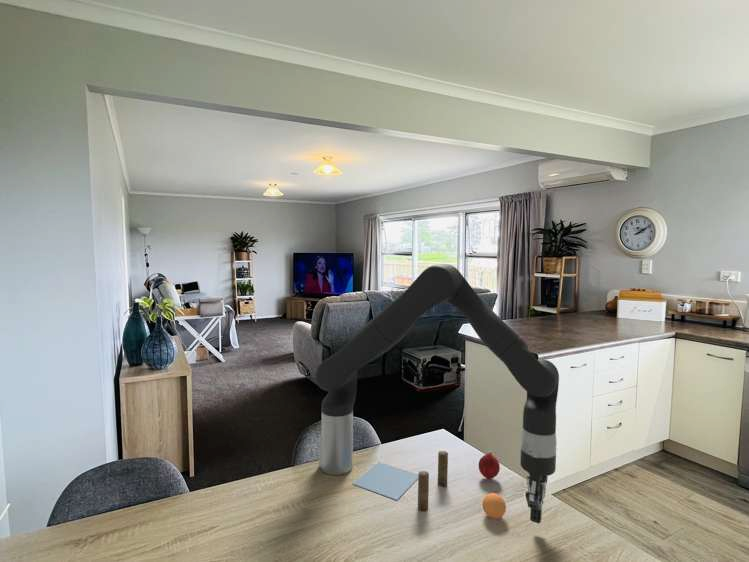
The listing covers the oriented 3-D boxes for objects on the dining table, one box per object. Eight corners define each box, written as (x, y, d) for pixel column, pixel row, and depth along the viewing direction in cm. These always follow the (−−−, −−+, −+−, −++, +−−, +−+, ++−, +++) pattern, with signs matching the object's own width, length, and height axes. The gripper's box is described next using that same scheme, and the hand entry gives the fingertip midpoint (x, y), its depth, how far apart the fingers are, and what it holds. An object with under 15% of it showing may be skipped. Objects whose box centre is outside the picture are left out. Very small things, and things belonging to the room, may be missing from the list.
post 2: (436, 485, 116) (436, 453, 115) (439, 480, 118) (440, 450, 117) (445, 488, 114) (445, 456, 114) (448, 483, 117) (449, 452, 116)
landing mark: (352, 484, 116) (352, 483, 116) (378, 462, 128) (378, 461, 128) (397, 500, 109) (397, 499, 109) (420, 475, 120) (420, 475, 120)
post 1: (416, 509, 105) (416, 474, 104) (420, 503, 107) (421, 469, 107) (425, 512, 104) (426, 477, 103) (429, 507, 106) (430, 472, 105)
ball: (479, 518, 102) (479, 497, 101) (486, 507, 106) (486, 486, 106) (502, 526, 99) (502, 504, 98) (508, 514, 103) (508, 493, 103)
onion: (500, 486, 116) (501, 458, 115) (478, 483, 117) (479, 455, 116) (498, 474, 121) (499, 448, 121) (477, 472, 123) (478, 446, 122)
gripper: (527, 433, 104) (525, 501, 105) (514, 456, 92) (512, 531, 94) (560, 441, 100) (557, 511, 101) (551, 465, 88) (548, 543, 90)
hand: (535, 520), depth 97 cm, fingers closed
